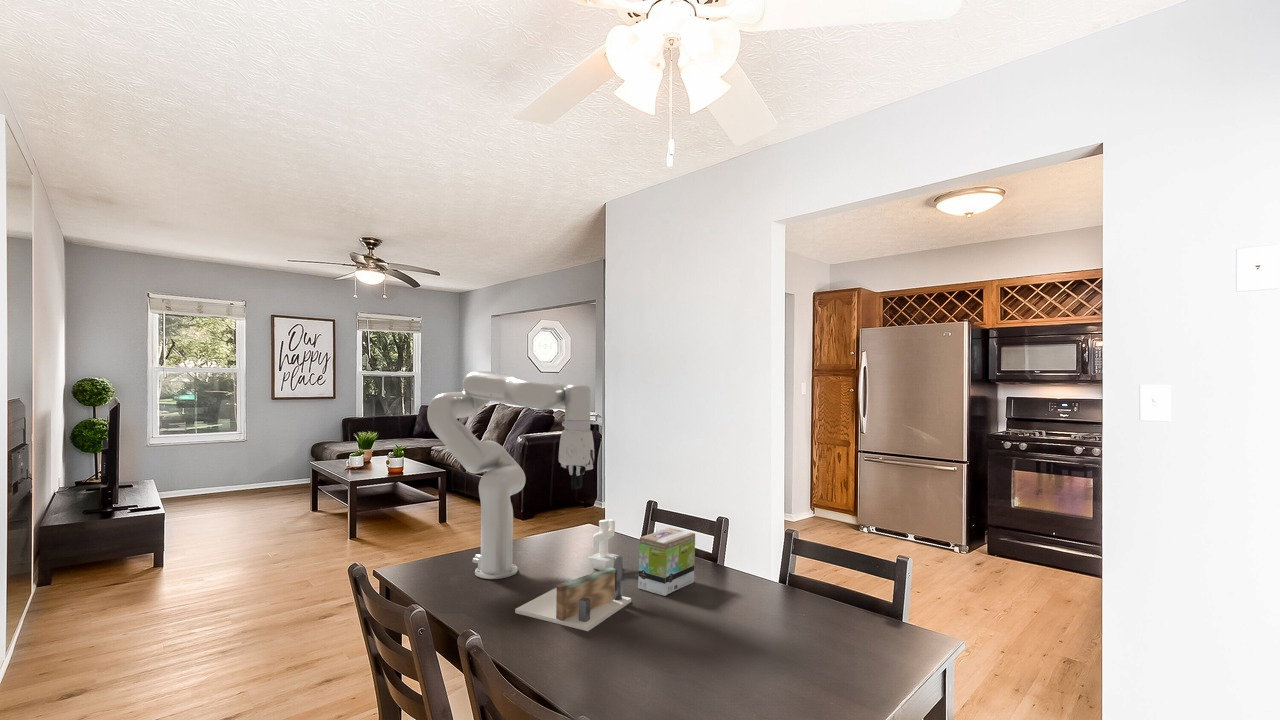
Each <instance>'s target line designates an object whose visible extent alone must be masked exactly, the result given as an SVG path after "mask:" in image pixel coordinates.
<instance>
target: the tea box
mask: <svg viewBox="0 0 1280 720" xmlns="http://www.w3.org/2000/svg"><path fill="white" fill-rule="evenodd" d="M638 550H639V552H638V553H639V554H638V575H637V576H638V579H637V581H638V582H637V588H638V589H640V590H643V591H646V592H649V593H653V594H656V595H660V596H665V597H666V596H667V595H669V594H671V593H674V592H675V591H677V590H679V589H682V588H684V587H686V586H689V585H691V584H693V583H694V582H695V565H696V564H695V563H696V562H695V561H696V560H695V558H696V555H695V554H696V552H695V551H696V533H694V532H690V531H686V530H685V531H684V530H682V529H681V530H680V529H677V528H671V527H668V528H665V529H661V530H658V531H655V532H652V533H648V534H645V535H642V536H640V537H639V549H638Z"/></svg>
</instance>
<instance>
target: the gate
mask: <svg viewBox="0 0 1280 720" xmlns="http://www.w3.org/2000/svg"><path fill="white" fill-rule="evenodd" d="M556 587H557V596H556V619H558V620H561V621H563V620H565V619H566V618H569V617H571V616H574V615H576V614H579V599H581V598H583V597H585V598H590V609H591V608H594V607H596V606H599V605H601V604H604V603H607V602H609V601H612V600H614V594H615V569H614V568H611V567H609V568H606V569H604V570H598V571H595V572H592V573H589V574H586V575H583V576H581V577H580V576H579V577H577V578H574V579H572V580H568V581H565V582H563V583H559V584H557V585H556Z"/></svg>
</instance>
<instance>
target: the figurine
mask: <svg viewBox="0 0 1280 720" xmlns="http://www.w3.org/2000/svg"><path fill="white" fill-rule="evenodd" d="M598 525H599V527H598V528H599V531H598V532H596V533H594V534H593V536H592V551H593V552H596V553H595V554H592V555H590V556H587V559H588V561H589V563H590V565H591V566H592V568H593V569H594V570H598V571H601V570H604V569H606V568H609V567H611V568H613V563H614V556H620V555H619V554H613V553H609V539H612V538H613V537H614V536H615V532H616V530H615V528H616V521H615V519H601V520H599V521H598Z"/></svg>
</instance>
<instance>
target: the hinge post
mask: <svg viewBox="0 0 1280 720" xmlns="http://www.w3.org/2000/svg"><path fill="white" fill-rule="evenodd" d="M613 568H614V569H615V594H614V600H621V599H622V596H623V556H622V555H619V556H614V563H613ZM588 620H590V598H585V597H583V598H581V599H579V621H582V622H587V621H588Z"/></svg>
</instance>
